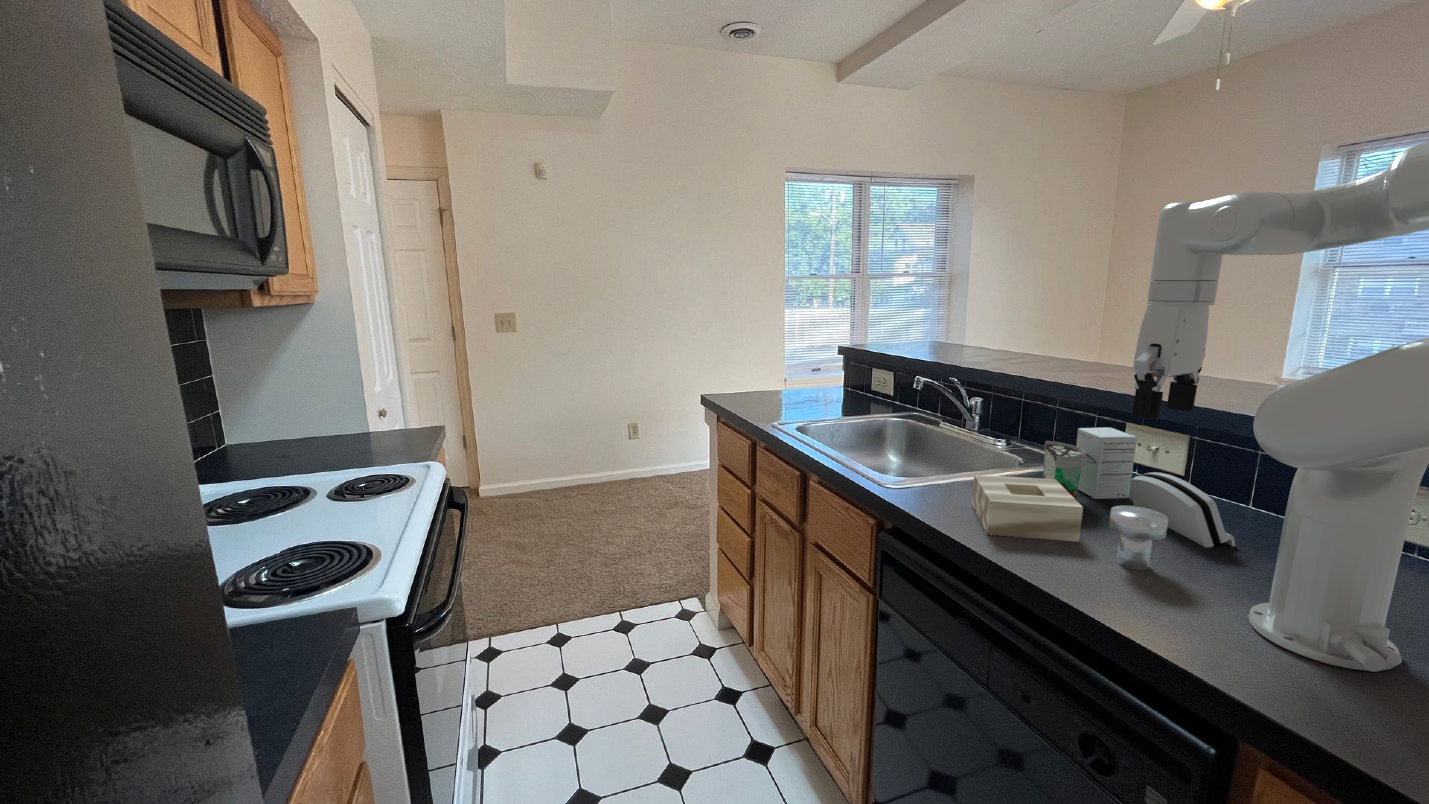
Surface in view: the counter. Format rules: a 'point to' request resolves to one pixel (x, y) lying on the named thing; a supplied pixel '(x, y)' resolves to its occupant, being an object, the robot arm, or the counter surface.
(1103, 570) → the counter surface
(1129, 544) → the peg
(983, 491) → the block
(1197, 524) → the white curved block
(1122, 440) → the supplement box
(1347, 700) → the counter surface
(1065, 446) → the food container
